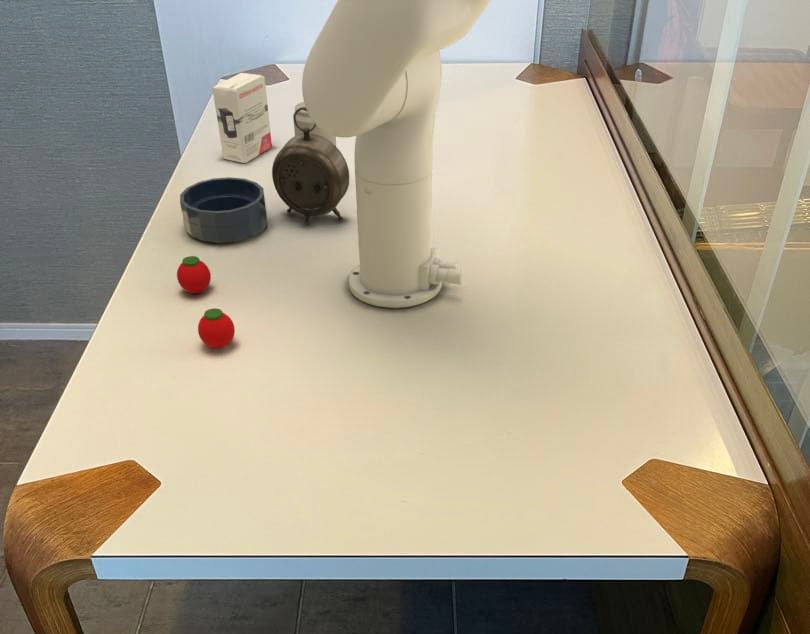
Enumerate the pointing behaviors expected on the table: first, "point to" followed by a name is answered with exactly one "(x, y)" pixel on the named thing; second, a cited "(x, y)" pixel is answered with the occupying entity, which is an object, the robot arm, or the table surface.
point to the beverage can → (309, 124)
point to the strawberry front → (216, 328)
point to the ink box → (242, 117)
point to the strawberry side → (193, 275)
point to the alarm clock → (310, 174)
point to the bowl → (224, 209)
